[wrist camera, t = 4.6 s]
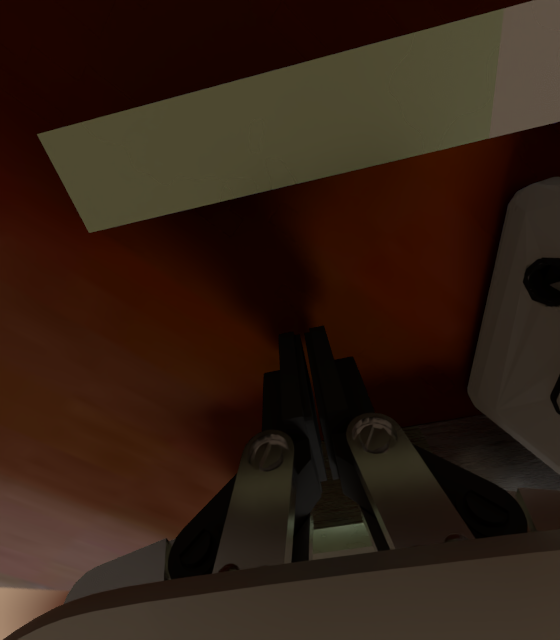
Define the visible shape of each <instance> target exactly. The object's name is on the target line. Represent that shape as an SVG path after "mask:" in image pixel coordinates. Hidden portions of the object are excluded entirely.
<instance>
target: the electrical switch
mask: <svg viewBox="0 0 560 640" xmlns="http://www.w3.org/2000/svg"><path fill="white" fill-rule="evenodd" d="M467 391H468V395H469V397H470V399H471V401H472V402H473V404H474V406H475V407H476V408H477V409H478V410H480V411H481V412H482V413H483V414H485V415H486V416H487V417H488V418H489V419H491V420H492V421H493V422H494V423H496V424H497V425H498V426H499V427H501V428H502V429H503V430H504V431H506V432H507V433H508V434H509V435H511V436H512V437H513V438H514V439H516V440H517V441H518V442H519V443H521V444H522V445H523V446H524V447H526V448H527V449H528V450H529V451H531V452H532V453H533V454H534V455H536V456H537V457H538V458H539V459H540V460H542V461H543V462H544V463H545V464H547V465H548V466H549V467H550V468H552V469H553V470H554V471H555V472H557V473H558V474H559V475H560V177H552V178H549V179H546V180H543V181H540V182H537V183H534V184H531V185H529V186H527V187H525V188H523V189H521V190H519V191H517V192H516V194H515V195H514V197H513V198H512V200H511V201H510V203H509V204H508V207H507V212H506V216H505V221H504V225H503V230H502V234H501V239H500V243H499V248H498V252H497V257H496V261H495V266H494V270H493V275H492V279H491V284H490V288H489V293H488V297H487V302H486V306H485V311H484V315H483V320H482V324H481V329H480V333H479V338H478V342H477V347H476V351H475V356H474V360H473V365H472V369H471V374H470V378H469V383H468V387H467Z"/></svg>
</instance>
